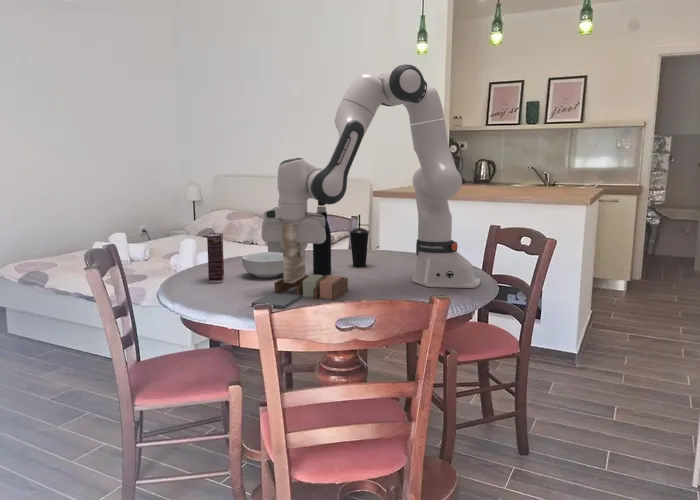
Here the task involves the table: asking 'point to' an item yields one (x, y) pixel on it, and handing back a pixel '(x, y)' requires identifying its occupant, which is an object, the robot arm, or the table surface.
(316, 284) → the sage offcut
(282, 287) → the offcut rack
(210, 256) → the supplement box
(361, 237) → the drinking cup
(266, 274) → the cereal bowl
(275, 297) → the slate mat
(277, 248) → the skincare box
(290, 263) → the beige mottled block
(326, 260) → the wine bottle
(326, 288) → the terracotta offcut
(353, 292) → the table surface
